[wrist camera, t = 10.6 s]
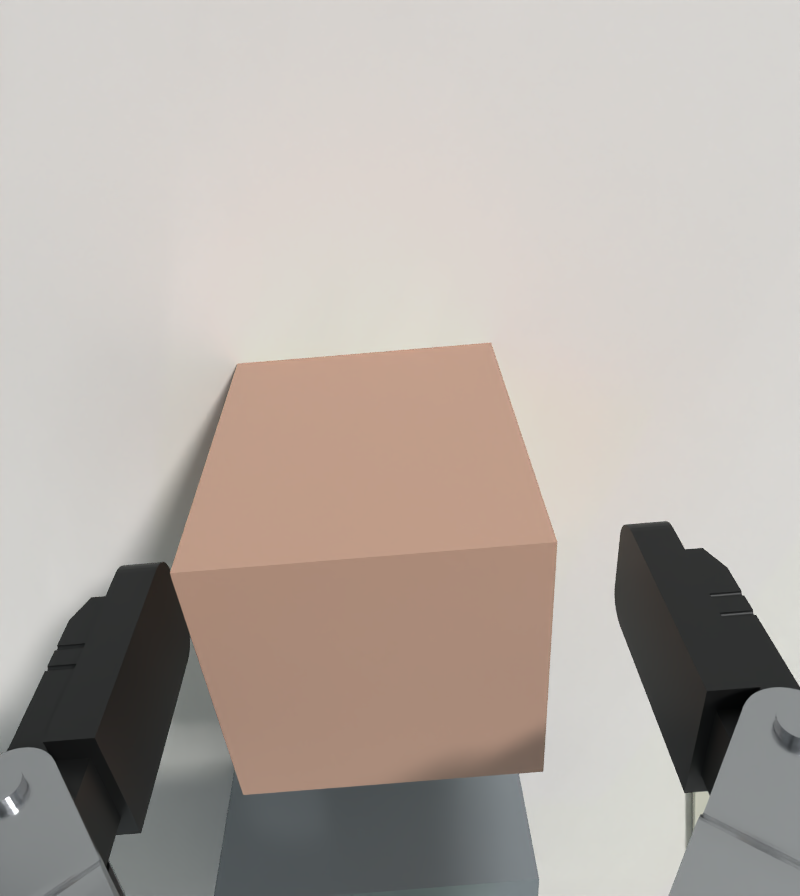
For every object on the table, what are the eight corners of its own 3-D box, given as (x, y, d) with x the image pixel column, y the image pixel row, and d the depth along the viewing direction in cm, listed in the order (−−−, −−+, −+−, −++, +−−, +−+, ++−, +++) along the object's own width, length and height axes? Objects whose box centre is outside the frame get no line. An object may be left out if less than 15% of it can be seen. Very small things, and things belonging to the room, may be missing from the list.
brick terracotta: (237, 362, 14) (169, 572, 9) (490, 341, 14) (557, 541, 9) (279, 553, 17) (243, 795, 12) (491, 536, 17) (543, 771, 12)
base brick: (236, 757, 21) (212, 905, 18) (511, 735, 21) (539, 878, 18) (281, 894, 26) (269, 1033, 22) (509, 876, 26) (531, 1012, 22)
